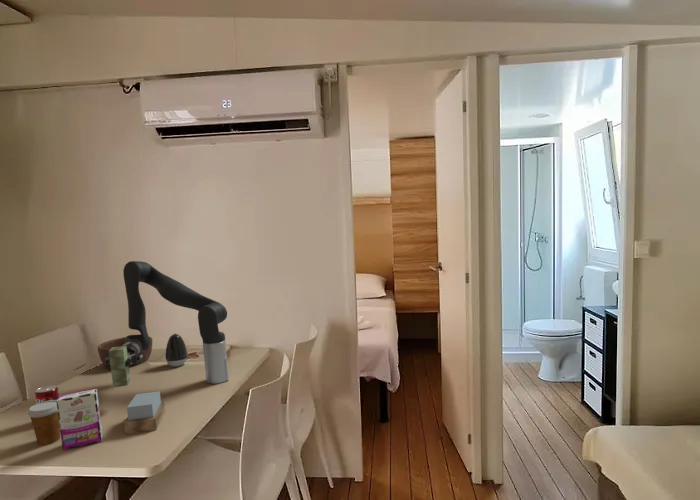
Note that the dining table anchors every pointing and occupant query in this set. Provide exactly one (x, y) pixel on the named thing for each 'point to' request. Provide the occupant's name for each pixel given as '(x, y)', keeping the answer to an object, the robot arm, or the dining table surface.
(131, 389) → the dining table surface
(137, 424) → the tower base
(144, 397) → the blue gray tower block
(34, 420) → the disposable coffee cup
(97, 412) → the candy bar box
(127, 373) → the olive block
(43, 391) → the soda can
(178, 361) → the black egg shape
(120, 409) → the dining table surface
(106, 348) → the wooden bowl
